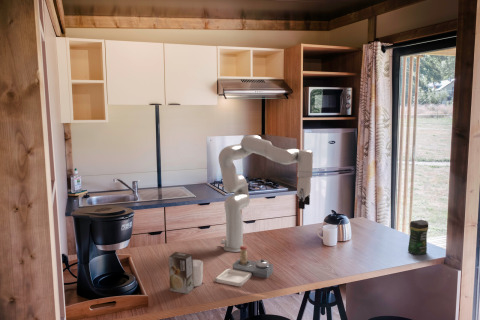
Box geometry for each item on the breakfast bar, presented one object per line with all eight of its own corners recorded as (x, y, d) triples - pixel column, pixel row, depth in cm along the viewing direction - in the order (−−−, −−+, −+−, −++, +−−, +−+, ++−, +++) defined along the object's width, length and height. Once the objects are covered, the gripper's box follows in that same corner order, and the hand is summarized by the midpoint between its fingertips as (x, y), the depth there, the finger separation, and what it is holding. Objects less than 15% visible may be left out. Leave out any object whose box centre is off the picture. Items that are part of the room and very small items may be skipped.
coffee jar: (416, 256, 222) (418, 223, 220) (405, 251, 229) (407, 219, 227) (429, 253, 226) (431, 221, 224) (417, 249, 233) (419, 217, 231)
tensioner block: (232, 273, 199) (232, 258, 198) (239, 267, 206) (239, 252, 205) (267, 280, 191) (267, 264, 190) (273, 274, 198) (273, 258, 197)
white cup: (186, 280, 191) (186, 260, 190) (203, 279, 192) (203, 259, 191) (185, 287, 184) (185, 266, 182) (203, 286, 184) (203, 265, 183)
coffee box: (194, 288, 183) (193, 254, 181) (187, 294, 177) (186, 259, 175) (176, 285, 186) (175, 251, 184) (169, 291, 180) (168, 256, 178)
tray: (215, 283, 188) (215, 278, 187) (227, 273, 199) (227, 268, 199) (240, 288, 182) (240, 283, 182) (252, 277, 194) (252, 272, 194)
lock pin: (239, 270, 200) (239, 247, 198) (241, 268, 203) (241, 245, 201) (245, 272, 198) (245, 248, 197) (248, 269, 201) (248, 246, 200)
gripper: (302, 171, 217) (301, 202, 219) (292, 176, 201) (292, 209, 203) (316, 172, 214) (315, 203, 216) (307, 177, 198) (306, 211, 200)
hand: (304, 206), depth 210 cm, fingers open, 9 cm apart
